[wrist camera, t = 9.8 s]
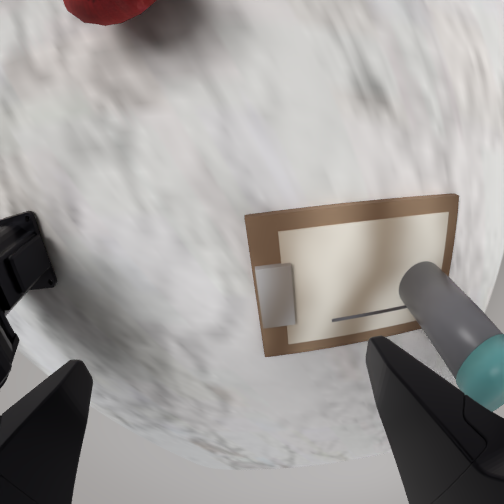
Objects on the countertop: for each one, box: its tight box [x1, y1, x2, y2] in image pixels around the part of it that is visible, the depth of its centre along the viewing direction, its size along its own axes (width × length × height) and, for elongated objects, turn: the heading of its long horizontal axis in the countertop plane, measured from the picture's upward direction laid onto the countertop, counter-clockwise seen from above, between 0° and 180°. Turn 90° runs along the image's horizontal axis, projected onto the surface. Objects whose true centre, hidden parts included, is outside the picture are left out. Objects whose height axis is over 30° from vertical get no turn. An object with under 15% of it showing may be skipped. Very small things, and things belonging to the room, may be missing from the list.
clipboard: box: [245, 194, 459, 357], centre depth 22 cm, size 16×12×1 cm
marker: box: [399, 261, 504, 412], centre depth 17 cm, size 4×4×12 cm
